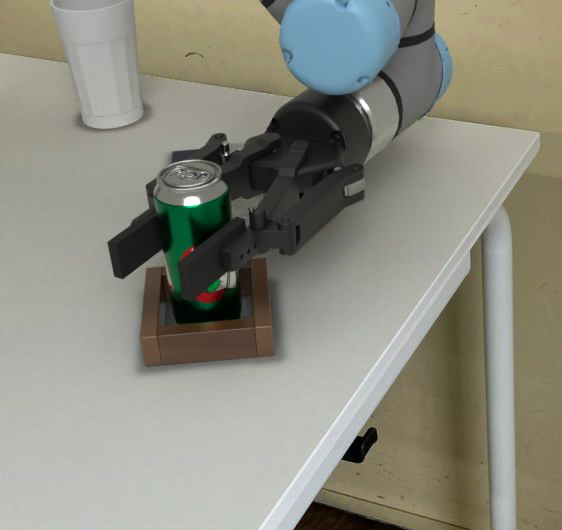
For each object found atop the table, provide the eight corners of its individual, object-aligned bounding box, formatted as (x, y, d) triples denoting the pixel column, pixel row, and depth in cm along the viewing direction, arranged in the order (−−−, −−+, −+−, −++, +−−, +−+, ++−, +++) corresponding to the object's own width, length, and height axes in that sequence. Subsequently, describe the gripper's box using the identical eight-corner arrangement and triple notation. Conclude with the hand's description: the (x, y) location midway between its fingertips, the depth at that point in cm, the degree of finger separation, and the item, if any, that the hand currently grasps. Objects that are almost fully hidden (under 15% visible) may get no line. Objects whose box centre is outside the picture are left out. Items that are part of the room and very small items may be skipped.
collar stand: (151, 295, 77) (146, 267, 75) (268, 284, 77) (266, 256, 75) (145, 367, 70) (139, 337, 68) (274, 355, 70) (271, 326, 68)
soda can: (193, 299, 76) (171, 153, 68) (255, 310, 74) (239, 160, 67) (163, 338, 72) (136, 187, 65) (227, 349, 71) (208, 196, 63)
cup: (119, 137, 99) (96, 15, 92) (58, 124, 103) (32, 5, 96) (167, 106, 105) (149, -11, 97) (107, 95, 108) (86, -20, 101)
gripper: (434, 196, 78) (270, 357, 63) (242, 152, 87) (57, 285, 72) (436, 104, 74) (260, 254, 59) (234, 67, 82) (34, 190, 67)
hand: (149, 271), depth 65 cm, fingers closed on soda can, 5 cm apart
